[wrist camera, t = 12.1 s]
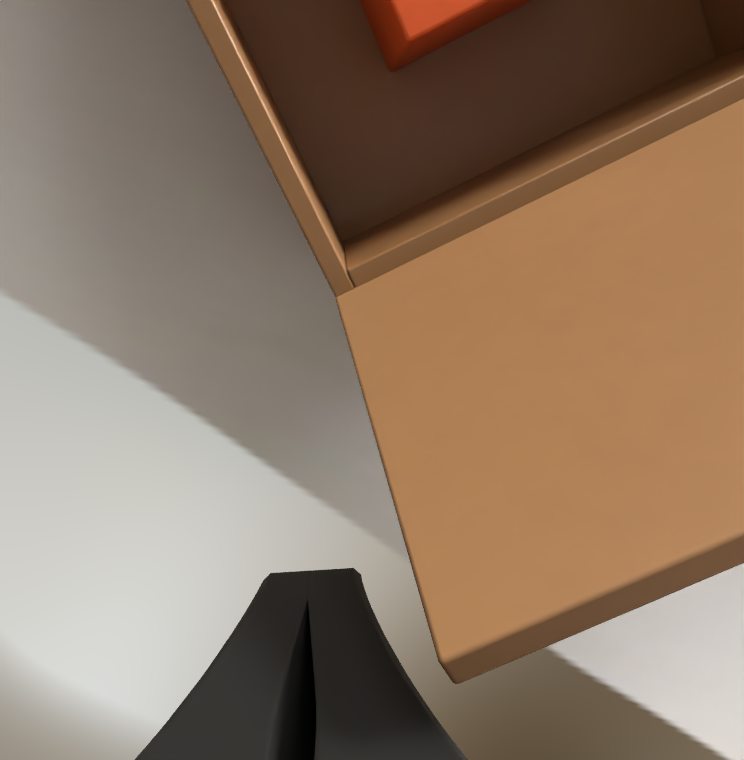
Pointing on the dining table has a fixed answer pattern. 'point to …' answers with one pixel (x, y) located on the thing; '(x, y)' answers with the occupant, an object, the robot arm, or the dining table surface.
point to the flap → (567, 399)
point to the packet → (427, 24)
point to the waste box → (460, 110)
